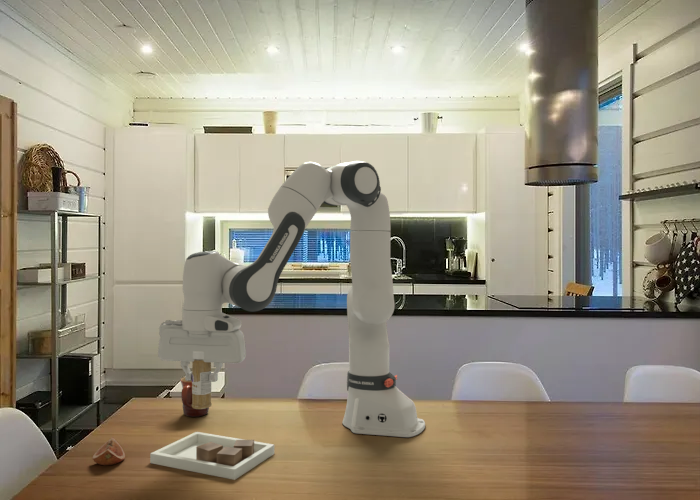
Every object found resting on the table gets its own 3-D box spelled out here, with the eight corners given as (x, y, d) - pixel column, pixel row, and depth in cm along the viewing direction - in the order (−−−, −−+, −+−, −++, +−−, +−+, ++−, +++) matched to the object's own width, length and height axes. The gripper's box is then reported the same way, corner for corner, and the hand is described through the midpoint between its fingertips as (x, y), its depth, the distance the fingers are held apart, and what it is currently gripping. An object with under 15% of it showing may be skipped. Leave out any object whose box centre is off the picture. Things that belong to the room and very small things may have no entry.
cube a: (242, 466, 125) (242, 448, 125) (234, 474, 121) (234, 455, 121) (225, 465, 126) (225, 446, 126) (216, 472, 122) (216, 453, 122)
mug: (189, 408, 170) (189, 374, 170) (216, 410, 169) (216, 376, 169) (168, 421, 159) (168, 384, 159) (197, 423, 157) (198, 385, 157)
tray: (274, 457, 133) (274, 444, 133) (234, 483, 118) (234, 469, 118) (196, 443, 141) (196, 431, 141) (150, 466, 127) (150, 453, 127)
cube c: (254, 457, 130) (254, 439, 130) (251, 464, 126) (251, 445, 126) (236, 457, 130) (236, 439, 130) (233, 464, 126) (233, 445, 126)
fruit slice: (122, 471, 124) (122, 448, 124) (88, 474, 122) (88, 450, 122) (127, 457, 132) (127, 435, 132) (95, 459, 131) (95, 437, 130)
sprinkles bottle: (188, 406, 134) (188, 348, 134) (207, 402, 137) (206, 346, 136) (196, 411, 130) (196, 352, 130) (215, 407, 133) (214, 349, 133)
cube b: (222, 463, 126) (222, 445, 126) (208, 469, 123) (208, 450, 123) (210, 459, 129) (210, 441, 129) (196, 465, 126) (196, 446, 125)
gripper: (153, 321, 131) (152, 381, 132) (239, 324, 129) (238, 386, 129) (165, 318, 138) (165, 375, 138) (248, 320, 135) (247, 379, 135)
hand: (201, 380), depth 133 cm, fingers closed on sprinkles bottle, 4 cm apart
